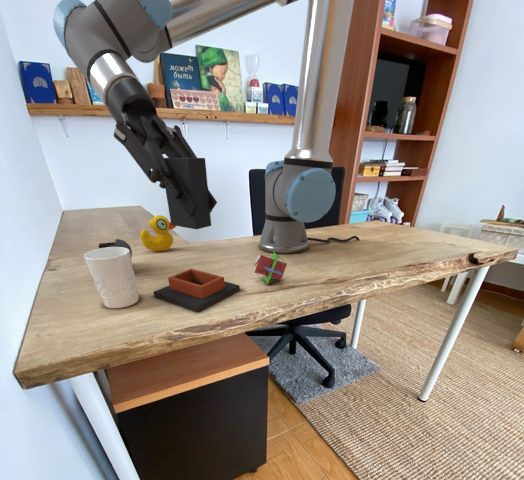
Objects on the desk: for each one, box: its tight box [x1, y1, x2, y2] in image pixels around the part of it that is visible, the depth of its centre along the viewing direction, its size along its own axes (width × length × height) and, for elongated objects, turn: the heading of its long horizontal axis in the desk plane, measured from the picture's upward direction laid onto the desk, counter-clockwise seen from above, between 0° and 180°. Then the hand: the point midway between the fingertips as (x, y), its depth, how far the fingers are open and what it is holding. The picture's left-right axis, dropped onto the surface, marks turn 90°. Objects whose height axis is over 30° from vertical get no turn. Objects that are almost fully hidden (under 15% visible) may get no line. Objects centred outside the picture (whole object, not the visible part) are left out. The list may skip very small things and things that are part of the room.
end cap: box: [97, 238, 133, 258], centre depth 74 cm, size 10×7×7 cm
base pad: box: [153, 268, 241, 313], centre depth 63 cm, size 13×13×4 cm
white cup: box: [83, 247, 140, 309], centre depth 58 cm, size 8×8×10 cm
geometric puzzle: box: [253, 252, 288, 286], centre depth 68 cm, size 7×7×8 cm
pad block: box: [164, 157, 212, 230], centre depth 54 cm, size 4×7×11 cm, turn 55°
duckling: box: [139, 214, 177, 252], centre depth 89 cm, size 11×5×10 cm, turn 110°
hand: (203, 209), depth 53 cm, fingers closed on pad block, 4 cm apart
